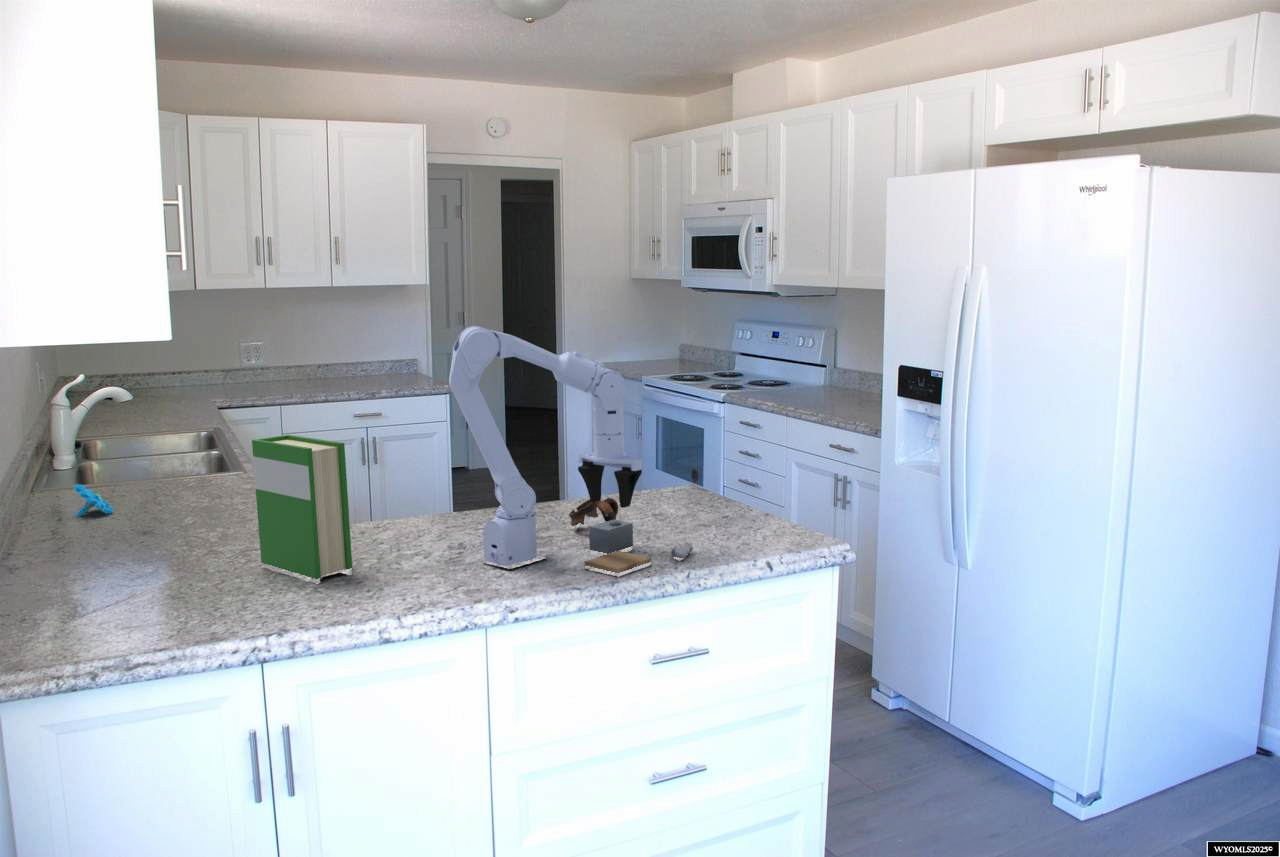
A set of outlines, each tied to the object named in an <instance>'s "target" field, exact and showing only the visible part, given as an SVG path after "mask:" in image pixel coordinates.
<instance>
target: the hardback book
mask: <svg viewBox="0 0 1280 857" xmlns="http://www.w3.org/2000/svg"><path fill="white" fill-rule="evenodd" d="M251 445H252V446H251V447H252V461H253V470H254V471H253V472H254V484H255V485H254V486H255V499H256V513H257V524H258V535H259V546H260V562H261V563H264V564H268V565H272V566H275V567H278V568H281V569H285V570H288V571H291V572H295V573H299V574H301V575H305V576H308V577H312V578H315V579H318V578H321V576H323V575H326V574H330V573H333V572H336V571H339V570H343V569H350V568H352V569H353V558H352V541H351V527H350V513H349V496H348V481H347V463H346V448H345V443H344V442H341V441H333V440H326V439H321V438H313V437H308V436H307V437H306V436H299V435H293V434H284V435H283V434H282V435H278V436H277V435H276V436H271V437H263V438H257V439H251ZM261 563H260V564H261Z"/></svg>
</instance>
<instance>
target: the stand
mask: <svg viewBox="0 0 1280 857" xmlns="http://www.w3.org/2000/svg"><path fill="white" fill-rule="evenodd" d="M649 562H651V563H652V557H648V556H643V555H639V554H634V553H630V552H627V553H626V552H621V551H616V552H613V553H610V554H607V555H603V556H600V557H599V556H596V557H595V558H591V559H588V560H584V567H585V566H590V567H594V568H598V569H603V570H606V571H611V572H615V573H620V572H623V571H626V570H629V569H632V568H634V567H637V566H640V565H643V564H646V563H649Z"/></svg>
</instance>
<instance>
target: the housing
mask: <svg viewBox="0 0 1280 857" xmlns="http://www.w3.org/2000/svg"><path fill="white" fill-rule="evenodd" d="M633 525H634V524H633V522H629V521H624V520H618V519H616V520H611V521H607V522H605V521H604V522H602V523H598V524H597V523H596V524H594V525H590V526H589V527H588V533H589V534H588V536H589V540H588V542H589V551H590V550H594V551H598V552H603V553H607V554H609V553H612V552H615V551H619V550H622V549H625V548H628V547H631V546H633V547H634V529H633V528H634V526H633Z"/></svg>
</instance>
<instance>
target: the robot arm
mask: <svg viewBox="0 0 1280 857" xmlns="http://www.w3.org/2000/svg"><path fill="white" fill-rule="evenodd" d="M452 346H453V347H452V357H451V364H450V370H449V371H450V372H449V378H448V384H449V386H450V389H451V391H452V394H453V395H454V398H455V399H456V402H457V404H458V406H459V408H460V411H461V412H462V415H463V416H464V419H465V421H466V424H467V425H468V428H469V429H470V431H471V434H472V435H473V438H474V439H475V442H476V444H477V447H478V448H479V451H480V453H481V455H482V457H483V459H484V462H485V463H486V466H487V467H488V469H489V473H490V474H491V475H490V476H491V478H492V480H493V481H494V495H495V498H496V500H497V501H498V502H499V503H500V505H499V506H498V508H497V510H496V511H495V517H494V518H493V519H491V520H488V521H487V522H485V524H484V527H483V554H484V555H483V556H484V559H483V560H486V561H489V562H493V563H496V564H500V565H503V566H508V565H511V564H515V563H518V562H523V561H528V560H532V559H534V558H536V556H537V554H538V551H537V548H538V547H537V526H536V525H537V524H536V523H537V522H536V521H537V520H536V510H535V509H534V508H535V506H536V503H537V496H536V492H535V490H534V489H533V488H532V487H531V486H530V485H529V484H528V483H527V482H526V480H525V479H524V477H522V475H521V473H520V472H519V469H518V468H517V466H516V465H515V461H514V459H513V458H512V455H511V453H510V451H509V449H508V447H507V445H506V443H505V441H504V438H503V436H502V434H501V432H500V430H499V428H498V426H497V424H496V422H495V419H494V418H493V415H492V412H491V410H490V409H489V406H488V404H487V402H486V399H485V398H484V396H483V394H482V392H481V389H480V387H479V382H480V380H481V377H482V376H483V373H484V371H485V369H486V368H487V367H488V365H489V364H490V363H491V362H492V361H494V358H495V357H496V358H498V359H501V360H502V359H506V358H512V357H513V358H517V359H519V360H521V361H522V360H523V361H525V362H528V363H531V364H533V365H536V366H538V367H541V368H544V369H546V370H548V371H551V372H552V374H553V377H554V379H555V381H557V382H558V383H561V384H564V385H566V386H569V387H572V388H573V389H576V390H579V391H582V392H584V393H586V394H588V393H590V394H591V395H592V398H593V399H592V400H593V403H592V404H593V405H592V406H593V409H592V422H593V428H592V429H593V430H592V431H593V451H592V452H591V451H582V452H578V454H577V459H578V460H577V462H578V464H581V465H579V466H577V470H578V472H579V474H580V475H581V478H582V479H583V481H584V484H585V486H586V489H587V490H586V491H587V492H588V496H589V499H590V500H591V502H597V501H602V500H601V498H602V480H603V475H604V470H605V467H611V468H618V469H619V470H615V471H613V474H614V477H615V480H616V483H617V488H618V497H619V498H618V499H619V502H618V503H619V505H620V508H623V509H624V508H628V507H631V504H632V503H631V502H632V498H633V495H634V491H635V488H636V485H637V483H638V481H639V479H640V477H641V475H642V473H643V470H642V469H643V462H642V461H643V460H642V459H641V458H636V457H633V456H629V455H627V454H626V453H625V429H624V428H625V427H624V426H625V424H624V423H625V422H624V420H625V419H624V400H623V399H624V397H625V395H626V393H627V390H628V385H627V384H626V381H625V378H624V377H623V375H622V374H621V373H620V372H618V371H616V370H613V369H609V368H608V367H607V366H605V364H604V363H603V362H600V361H599V362H598V363H596V362H594V361H591V360H590V359H586V358H583V357H582V353H580V352H578V351H573V353H572V352H570V351H566V352H564V353H562V354H558V355H557V354H555V353H553V352H551V351H548V350H546V349H545V348H542V347H539V346H537V345H535V344H533V343H531V342H528V341H527V340H523V339H522V338H520V337H517V336H515V335H512V334H508V333H504V332H500V331H496V330H492V329H487V328H484V327H482V326H478V325H472V326H468V327H466V328H464V329H463V330H462V331H461V332H460V334H459V335H458V337H457V339H456V341H455V342H454V345H452Z"/></svg>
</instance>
